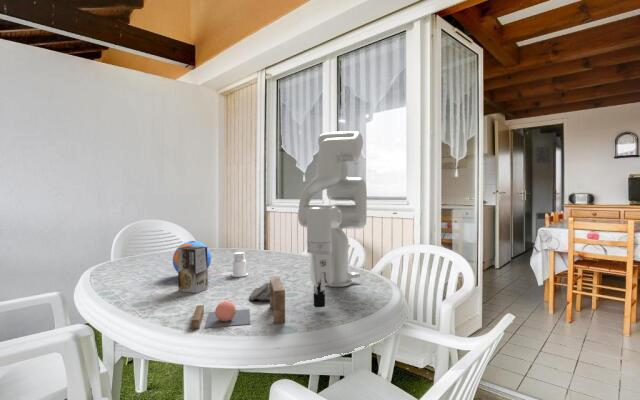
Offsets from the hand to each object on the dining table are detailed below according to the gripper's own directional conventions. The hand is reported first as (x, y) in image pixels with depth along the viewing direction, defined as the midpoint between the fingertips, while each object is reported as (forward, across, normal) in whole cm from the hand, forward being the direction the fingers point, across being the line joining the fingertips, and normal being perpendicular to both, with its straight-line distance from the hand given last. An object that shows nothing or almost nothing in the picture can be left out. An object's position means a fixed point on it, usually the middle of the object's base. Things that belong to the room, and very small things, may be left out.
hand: (319, 306), depth 106 cm
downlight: (+2, +52, +24) cm, 57 cm away
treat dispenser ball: (+2, +54, +44) cm, 70 cm away
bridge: (+2, 0, +13) cm, 13 cm away
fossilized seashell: (+2, +17, +16) cm, 23 cm away
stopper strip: (+2, 0, +36) cm, 36 cm away
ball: (-1, -2, +28) cm, 28 cm away
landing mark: (+2, 0, +27) cm, 27 cm away
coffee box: (+2, +33, +41) cm, 53 cm away
